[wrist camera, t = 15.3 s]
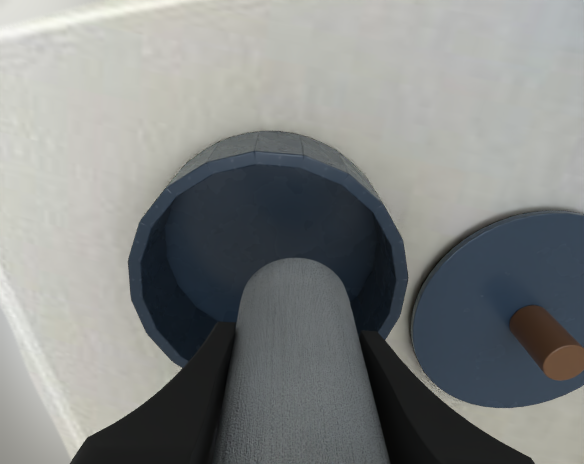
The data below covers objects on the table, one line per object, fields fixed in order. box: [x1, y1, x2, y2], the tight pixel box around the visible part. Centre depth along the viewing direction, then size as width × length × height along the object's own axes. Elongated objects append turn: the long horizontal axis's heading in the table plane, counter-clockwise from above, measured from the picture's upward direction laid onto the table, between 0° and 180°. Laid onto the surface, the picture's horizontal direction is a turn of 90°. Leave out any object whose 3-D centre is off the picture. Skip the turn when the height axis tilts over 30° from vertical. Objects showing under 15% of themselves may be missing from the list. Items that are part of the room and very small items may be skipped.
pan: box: [128, 131, 408, 368], centre depth 23 cm, size 13×13×5 cm
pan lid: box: [411, 210, 584, 408], centre depth 25 cm, size 14×14×5 cm
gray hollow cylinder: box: [212, 258, 390, 464], centre depth 13 cm, size 4×4×10 cm
